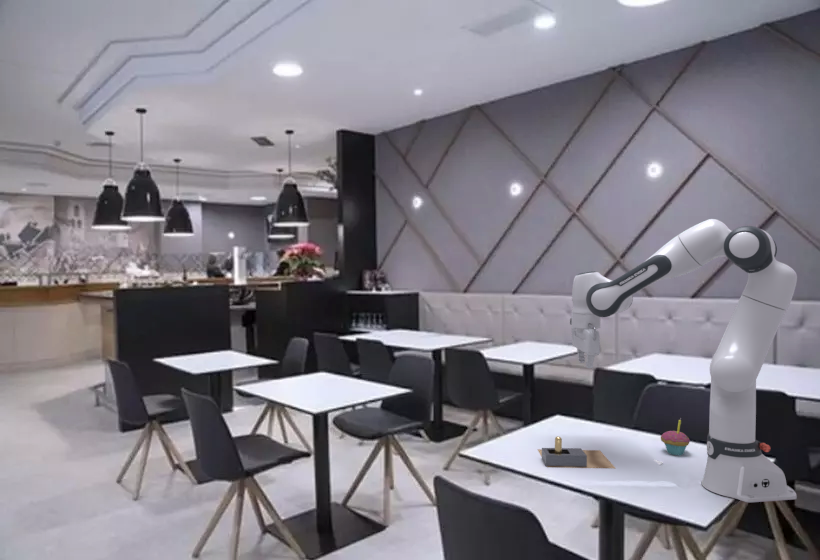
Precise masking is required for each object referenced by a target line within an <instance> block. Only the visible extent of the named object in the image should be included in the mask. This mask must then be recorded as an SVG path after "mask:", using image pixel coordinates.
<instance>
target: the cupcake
mask: <svg viewBox="0 0 820 560" xmlns="http://www.w3.org/2000/svg"><path fill="white" fill-rule="evenodd" d="M681 419H682V418H681V417H680V419H678V423H677V430H667V431H665V432H663V433H662V434H661V436H660V440H661V442H662V443H664V446H665V448H666V452H667V453H668V454H669V455H671V456H683V455H684V453H685V451H686V448H687V446H689V444H690V442H691V440H690V438H689V436H688V435H686V434H685V433H684V432H682V431H681V430H680V429H681V424H682V420H681Z"/></svg>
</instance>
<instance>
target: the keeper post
mask: <svg viewBox="0 0 820 560" xmlns="http://www.w3.org/2000/svg"><path fill="white" fill-rule="evenodd" d="M562 440H563V438H562V437H561V436H555V438H554V448H555V454H562V448H563V441H562Z"/></svg>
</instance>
